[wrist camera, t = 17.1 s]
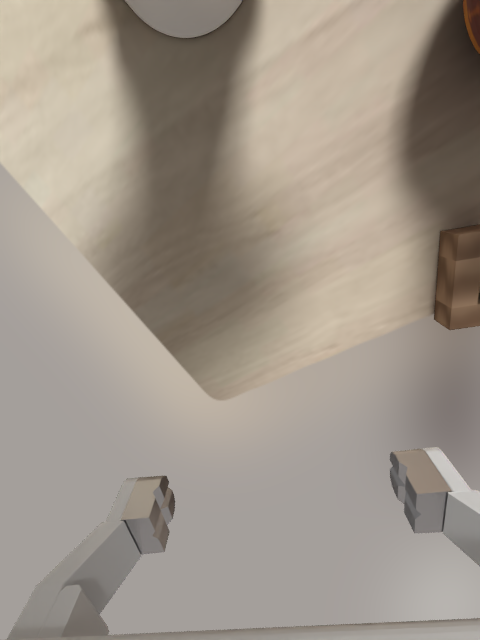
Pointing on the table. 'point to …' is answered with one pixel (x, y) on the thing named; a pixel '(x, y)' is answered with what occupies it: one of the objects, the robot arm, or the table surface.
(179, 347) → the table surface
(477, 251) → the socket block
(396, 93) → the table surface
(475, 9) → the jug
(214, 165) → the table surface
